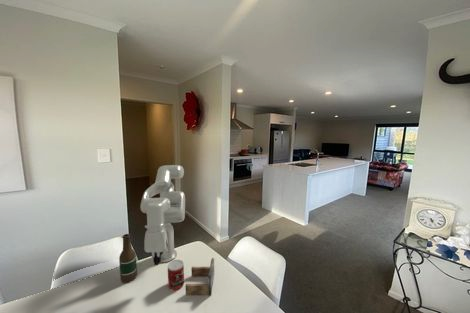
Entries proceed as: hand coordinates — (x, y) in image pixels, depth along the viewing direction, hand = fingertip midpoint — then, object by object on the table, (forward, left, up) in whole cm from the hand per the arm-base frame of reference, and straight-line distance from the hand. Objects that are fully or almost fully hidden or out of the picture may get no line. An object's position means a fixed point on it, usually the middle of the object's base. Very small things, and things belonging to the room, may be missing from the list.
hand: (157, 263), depth 96 cm
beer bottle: (-18, -6, -12) cm, 22 cm away
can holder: (+17, +13, -12) cm, 24 cm away
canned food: (+7, +6, -12) cm, 15 cm away
